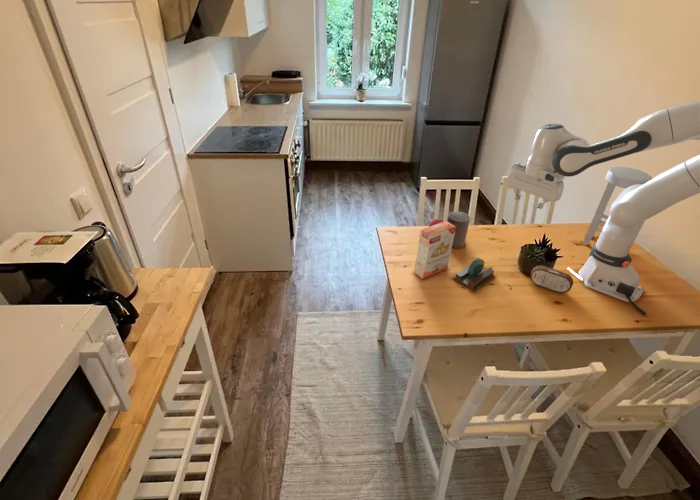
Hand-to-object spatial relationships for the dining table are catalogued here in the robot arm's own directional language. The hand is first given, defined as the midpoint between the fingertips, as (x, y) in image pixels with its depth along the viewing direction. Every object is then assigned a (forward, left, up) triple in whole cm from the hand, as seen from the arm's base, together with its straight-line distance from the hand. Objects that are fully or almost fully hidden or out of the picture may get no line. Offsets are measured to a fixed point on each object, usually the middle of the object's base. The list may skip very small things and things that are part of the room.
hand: (528, 203), depth 148 cm
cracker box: (+18, +30, -29) cm, 46 cm away
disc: (+4, +20, -28) cm, 35 cm away
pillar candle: (+26, +4, -29) cm, 39 cm away
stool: (-17, -49, -29) cm, 60 cm away
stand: (+4, +20, -29) cm, 35 cm away
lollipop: (+28, +16, -29) cm, 44 cm away
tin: (-18, +2, -29) cm, 34 cm away
